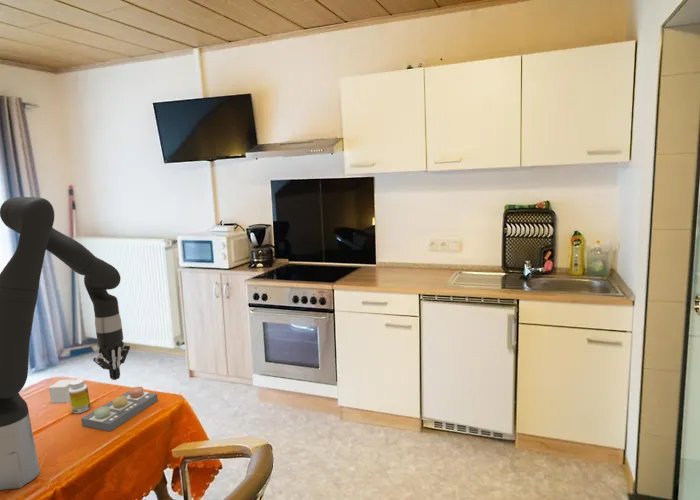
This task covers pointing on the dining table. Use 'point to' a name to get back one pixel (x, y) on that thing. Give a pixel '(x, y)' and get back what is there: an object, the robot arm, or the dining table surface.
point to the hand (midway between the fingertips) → (115, 378)
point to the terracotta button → (136, 391)
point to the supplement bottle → (79, 396)
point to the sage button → (102, 412)
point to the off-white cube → (60, 391)
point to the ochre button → (120, 401)
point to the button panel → (120, 412)
